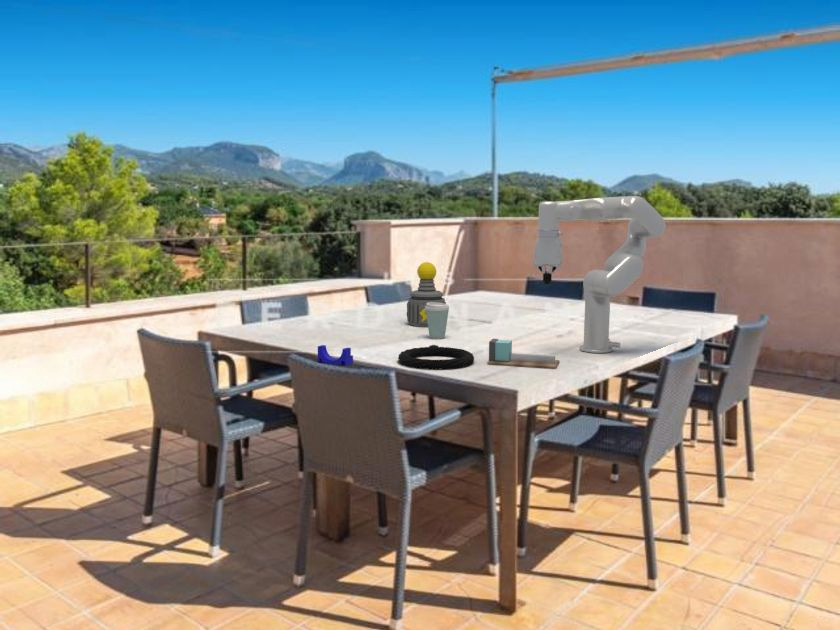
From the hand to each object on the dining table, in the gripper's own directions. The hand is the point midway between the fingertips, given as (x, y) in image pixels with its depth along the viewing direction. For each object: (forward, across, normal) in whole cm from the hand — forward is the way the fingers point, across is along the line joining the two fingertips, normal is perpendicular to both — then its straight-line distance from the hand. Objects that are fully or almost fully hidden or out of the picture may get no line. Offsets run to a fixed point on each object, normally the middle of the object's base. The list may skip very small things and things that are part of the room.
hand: (547, 283), depth 278 cm
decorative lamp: (+27, +64, -57) cm, 90 cm away
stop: (+27, +16, +20) cm, 37 cm away
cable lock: (+27, +36, +26) cm, 52 cm away
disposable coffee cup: (+27, +49, -22) cm, 60 cm away
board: (+27, +5, +20) cm, 34 cm away
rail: (+27, +5, +20) cm, 34 cm away
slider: (+26, +13, +20) cm, 35 cm away
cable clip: (+27, +70, +40) cm, 85 cm away
